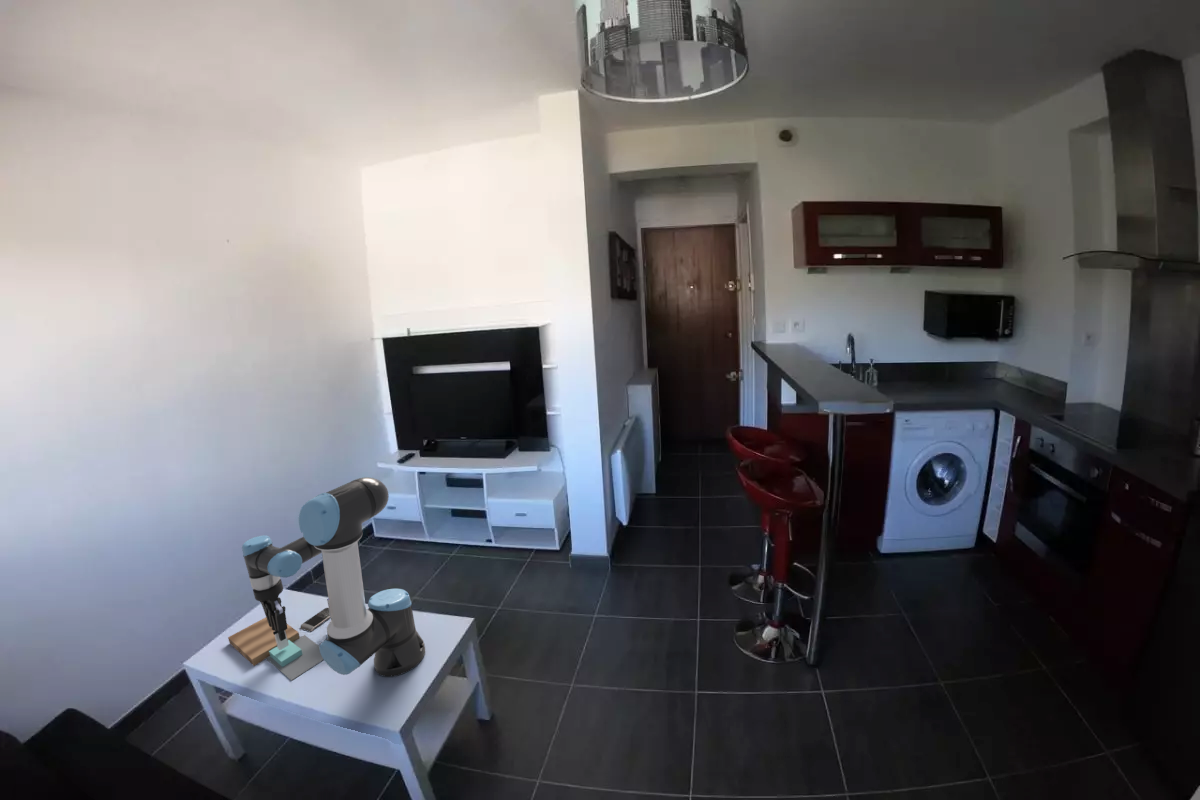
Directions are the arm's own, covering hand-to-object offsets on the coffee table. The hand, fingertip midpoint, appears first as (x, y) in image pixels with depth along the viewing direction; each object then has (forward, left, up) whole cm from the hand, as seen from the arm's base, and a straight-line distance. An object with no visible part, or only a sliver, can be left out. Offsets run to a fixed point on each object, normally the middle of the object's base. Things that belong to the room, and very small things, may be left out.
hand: (283, 646), depth 154 cm
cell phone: (+9, -15, -4) cm, 18 cm away
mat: (-4, -2, -4) cm, 6 cm away
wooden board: (+15, +1, -4) cm, 15 cm away
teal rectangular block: (0, 0, -3) cm, 3 cm away
